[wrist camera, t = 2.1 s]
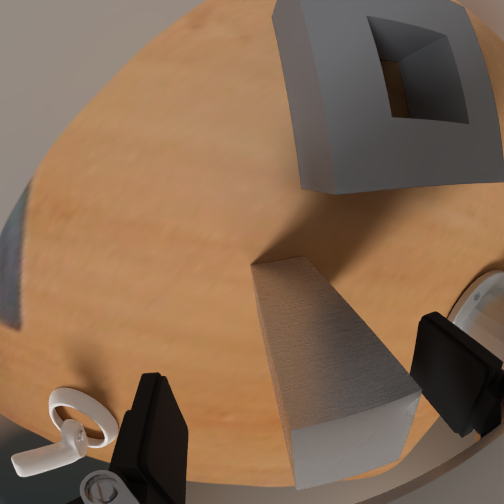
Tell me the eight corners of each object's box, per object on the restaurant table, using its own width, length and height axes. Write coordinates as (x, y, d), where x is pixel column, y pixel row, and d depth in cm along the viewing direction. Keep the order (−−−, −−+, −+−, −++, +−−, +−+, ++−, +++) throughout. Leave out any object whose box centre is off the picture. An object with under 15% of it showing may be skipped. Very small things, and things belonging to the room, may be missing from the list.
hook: (-20, 384, 14) (-1, 431, 10) (82, 367, 24) (120, 398, 21) (1, 447, 14) (28, 494, 11) (89, 422, 25) (127, 456, 21)
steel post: (305, 256, 18) (422, 389, 6) (309, 305, 19) (398, 459, 7) (250, 265, 18) (290, 429, 6) (257, 314, 19) (296, 490, 7)
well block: (419, 33, 15) (464, 7, 9) (448, 176, 18) (505, 182, 12) (271, 17, 14) (288, -35, 8) (301, 188, 17) (336, 195, 11)
